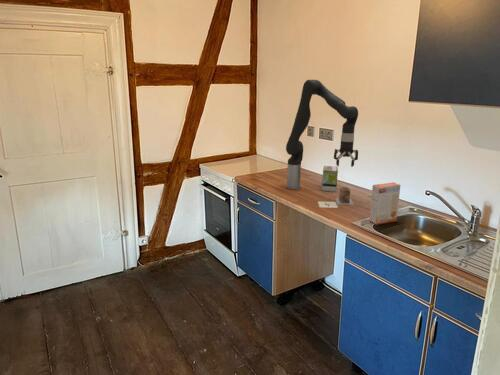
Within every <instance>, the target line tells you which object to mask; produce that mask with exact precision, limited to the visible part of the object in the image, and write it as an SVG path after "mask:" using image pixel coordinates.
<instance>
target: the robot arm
mask: <svg viewBox="0 0 500 375" xmlns="http://www.w3.org/2000/svg"><path fill="white" fill-rule="evenodd" d="M313 95H314V96H316V95H317V96H319V97H321V98H322V99H323V100H324V101H325V102H326V104H327V105H328V106H329V107H330V108H332V109H333V110H335V112H336V113H338V114H339V116H341V118H343V119H345V120H346V121H345V122H343V123H342V129H341V136H340V146H339V147H340V148H339V149H337V148H335V149H334V153H333V159H334V160H335V161H336V162H335V165H336V166H337V167H339V166H340V159H342V157H343V158H346V157H347V158H350V159H351V160H350V161H351V162H350V167H351V168H352V167H354V166H355V161H357V160H358V159H359V150H358V149H354V141H355V127H356V123H357V120H358V117H359V110H358V108H357V107H356V106H353V105H351V106H348V105H346V102H345V101H344V100H343V99H342V98H340V97H338V96H337V95H336V94H335V93H333V92H332V91H331V90H329V89H328V88H327V87H326V86H325V85H324V84H323V83H322V82H321V81H320V80H319V79H306V80H305V82H304V83H303V85H302V91H301V95H300V100H299V103H298V108H297V112H296V115H295V118H294V121H293V122H294V123H293V124H292V129H291V133H290V135H289V136H288V137H289V138H288V141H286V142H287V143H286V146H285V151H286V153H287V155H290V157H289V158H288V159H287V174H286V175H287V176H286V188H287V189H289V190H298V189H300V188H301V176H302V175H301V173H302V172H301V171H302V161H303V156H304V145H303V142H302V141H301V140H300V138H301V136H302V134H303V133H304V132H305V130H306V129H307V127H308V126H309V122H310V119H311V115H312V114H311V112H312V111H311V107H310V106H311V104H310V103H311V99H312V96H313ZM338 153H340V154H338ZM352 154H354V156H353V155H352ZM337 155H338V156H337Z"/></svg>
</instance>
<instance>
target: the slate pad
mask: <svg viewBox="0 0 500 375" xmlns="http://www.w3.org/2000/svg"><path fill="white" fill-rule="evenodd" d="M334 200H335V201H334V202H336V204H337V206H338V205H339V206H341V205H347V206H354V205H355V204H354V202H353V200H352V199H351V198H350V202H349V203H341V202H340V200H339V197H334Z"/></svg>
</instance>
